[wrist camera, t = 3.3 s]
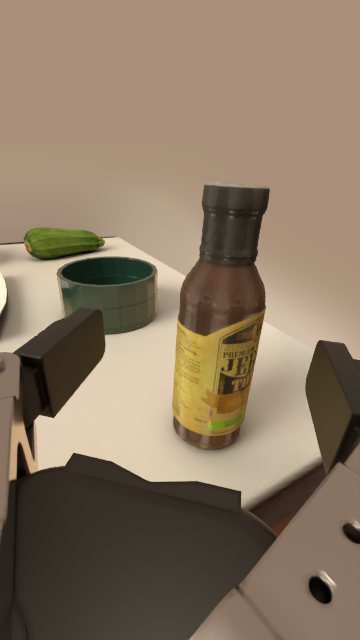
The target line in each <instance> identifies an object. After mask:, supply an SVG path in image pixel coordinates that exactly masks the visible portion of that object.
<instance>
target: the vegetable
mask: <svg viewBox="0 0 360 640" xmlns="http://www.w3.org/2000/svg"><path fill="white" fill-rule="evenodd" d="M24 243H25V247H26V249H27V251H28V252H29V253H30V255H32V256H34V257H36V258H40V259H51V258H56V257H60V256H65V255H69V254H74V253H78V252H92V251H95V250H96V249H97V248H99V247H101V246H103V245H104V243H105V242H104V240H103V239H102V238H100V237H98V236H96V235H95V234H94V233H92V232H89V231H85V230H68V229H57V228H35V229H31V230H30V231H28V232H27V233H26V235H25V237H24Z"/></svg>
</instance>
